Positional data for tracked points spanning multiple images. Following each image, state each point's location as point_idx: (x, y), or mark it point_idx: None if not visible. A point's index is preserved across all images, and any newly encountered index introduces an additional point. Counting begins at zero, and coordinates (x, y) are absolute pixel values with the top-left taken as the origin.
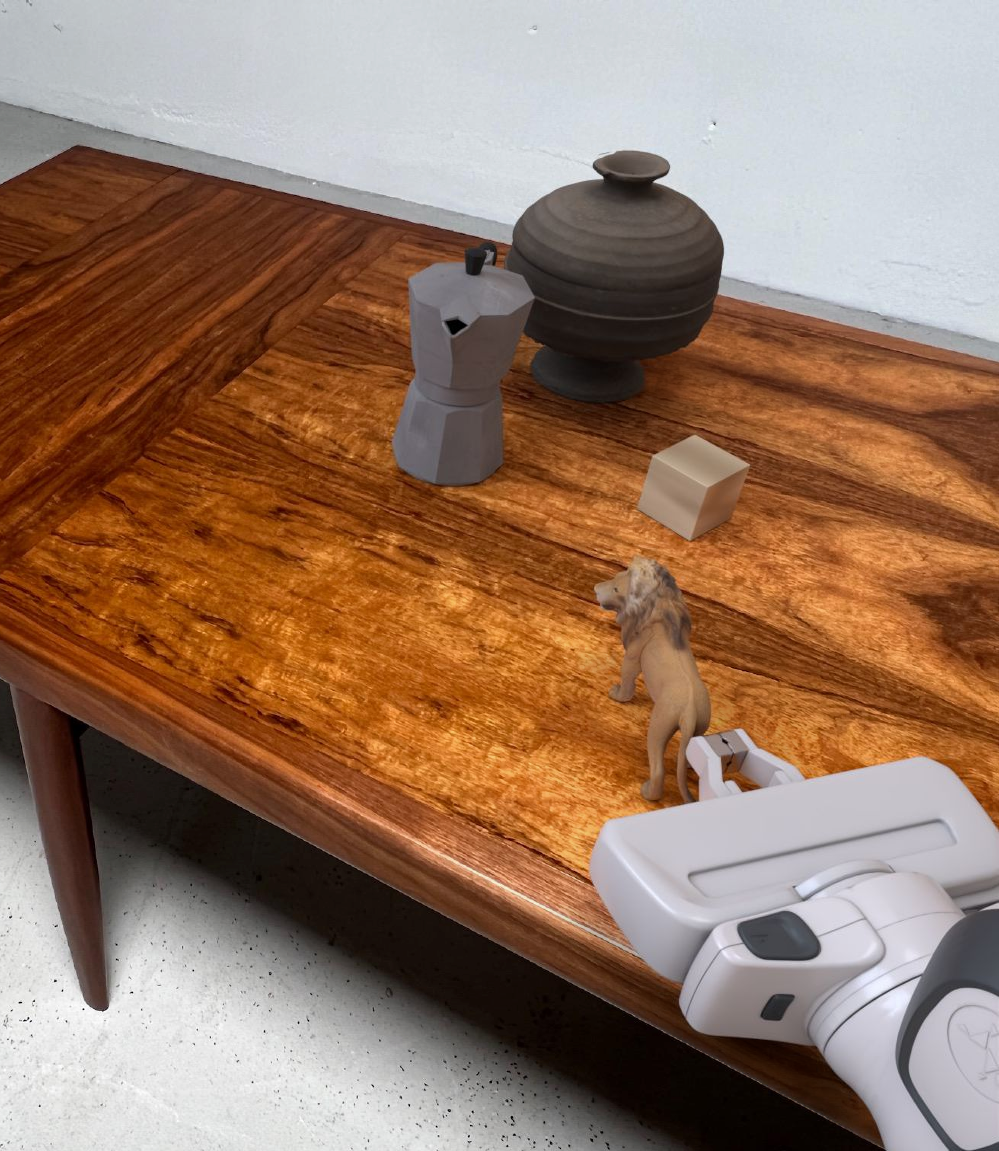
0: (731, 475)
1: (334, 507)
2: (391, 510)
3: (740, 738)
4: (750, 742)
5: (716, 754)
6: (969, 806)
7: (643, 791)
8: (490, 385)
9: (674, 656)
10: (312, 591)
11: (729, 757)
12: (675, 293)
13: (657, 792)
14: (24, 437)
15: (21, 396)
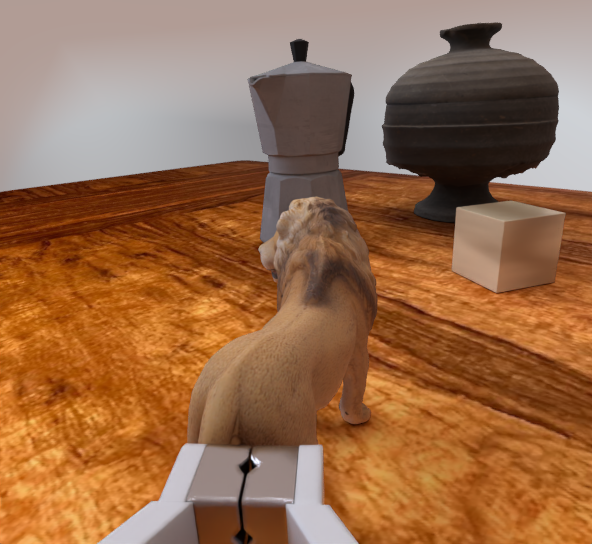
0: (538, 217)
1: (185, 255)
2: (226, 258)
3: (293, 466)
4: (312, 482)
5: (189, 495)
6: None
7: None
8: (313, 153)
9: (290, 311)
10: (91, 293)
11: (230, 514)
12: (502, 102)
13: None
14: (48, 221)
15: (77, 210)
